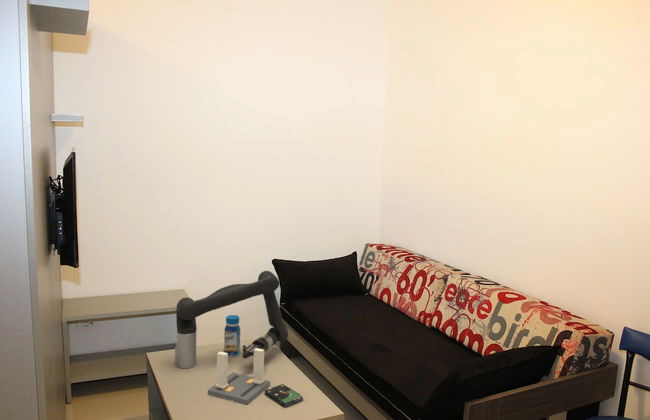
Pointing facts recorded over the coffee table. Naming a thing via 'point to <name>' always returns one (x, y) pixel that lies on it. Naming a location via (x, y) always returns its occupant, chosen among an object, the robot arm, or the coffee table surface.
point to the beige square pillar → (222, 370)
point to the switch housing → (239, 388)
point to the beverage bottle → (232, 336)
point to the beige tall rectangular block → (258, 366)
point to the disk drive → (283, 395)
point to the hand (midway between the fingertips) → (244, 356)
